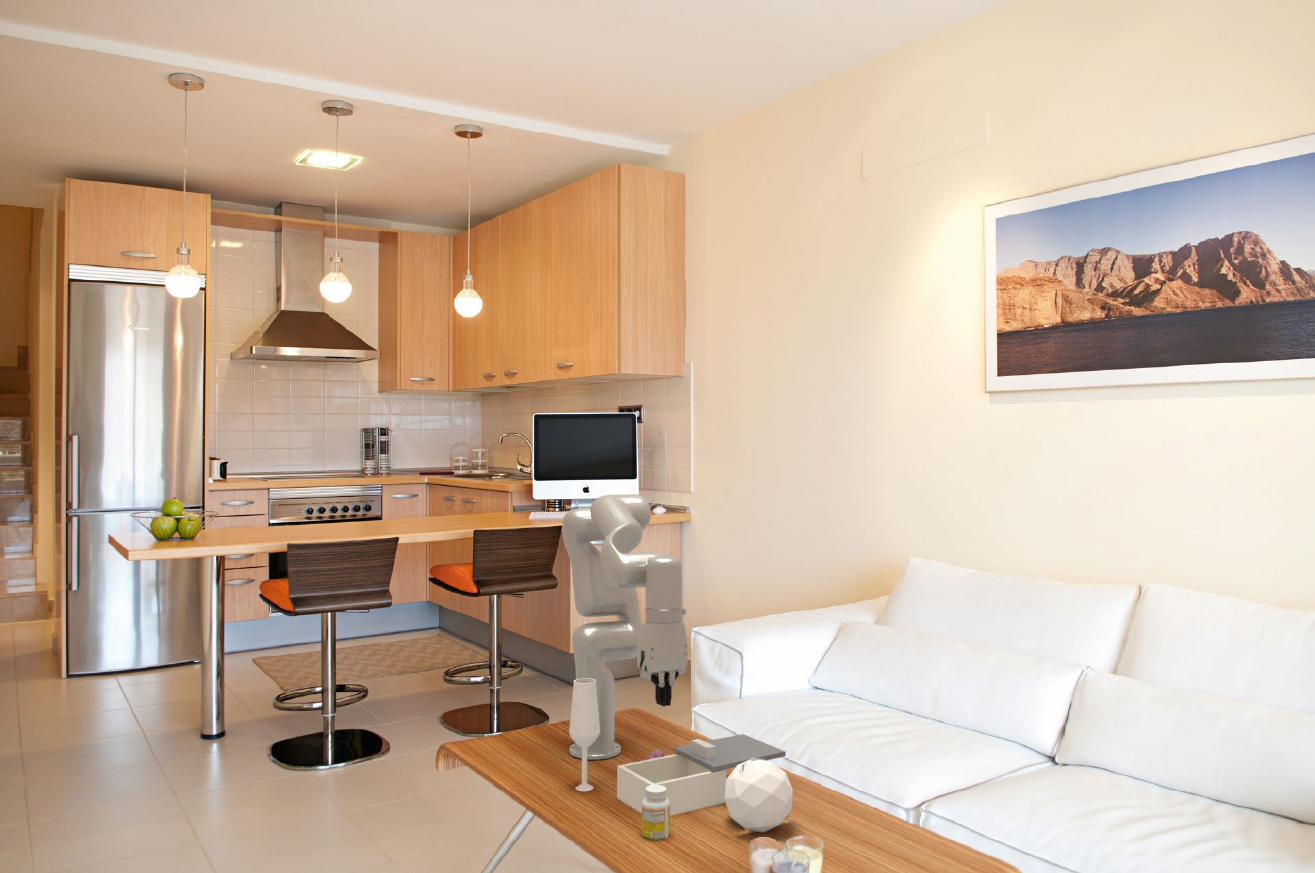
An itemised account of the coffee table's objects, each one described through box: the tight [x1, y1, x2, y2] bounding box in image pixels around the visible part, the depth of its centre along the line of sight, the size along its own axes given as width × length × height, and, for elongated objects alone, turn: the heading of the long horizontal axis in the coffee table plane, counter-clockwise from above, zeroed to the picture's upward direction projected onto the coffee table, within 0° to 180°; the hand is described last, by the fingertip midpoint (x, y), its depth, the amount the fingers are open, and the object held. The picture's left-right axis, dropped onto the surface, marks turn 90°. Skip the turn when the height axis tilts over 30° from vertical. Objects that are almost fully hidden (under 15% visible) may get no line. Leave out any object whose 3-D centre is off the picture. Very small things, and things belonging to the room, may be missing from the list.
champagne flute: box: [568, 678, 600, 792], centre depth 201 cm, size 7×7×24 cm
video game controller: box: [644, 748, 666, 760], centre depth 211 cm, size 10×5×7 cm, turn 169°
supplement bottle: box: [641, 785, 671, 841], centre depth 176 cm, size 5×5×10 cm
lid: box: [673, 733, 787, 772], centre depth 202 cm, size 15×19×4 cm
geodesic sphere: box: [724, 757, 794, 834], centre depth 182 cm, size 14×14×14 cm
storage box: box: [616, 753, 727, 817], centre depth 194 cm, size 14×18×8 cm
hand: (663, 704), depth 193 cm, fingers closed
